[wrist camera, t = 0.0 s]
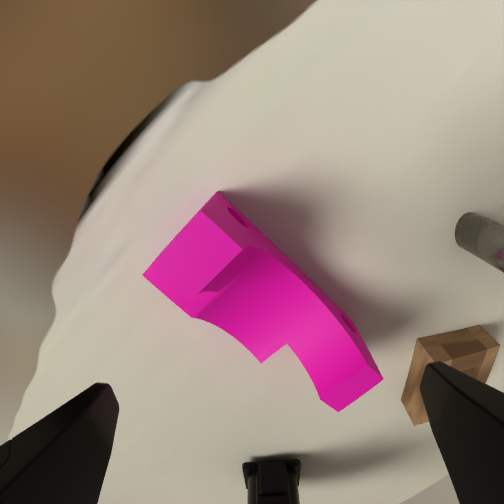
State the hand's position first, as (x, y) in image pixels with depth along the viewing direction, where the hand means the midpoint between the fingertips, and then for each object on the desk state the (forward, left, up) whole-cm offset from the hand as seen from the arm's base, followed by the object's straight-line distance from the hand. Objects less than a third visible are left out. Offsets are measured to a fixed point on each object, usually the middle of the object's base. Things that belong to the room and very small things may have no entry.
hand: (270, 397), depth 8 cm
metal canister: (0, -18, -16) cm, 24 cm away
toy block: (-4, 0, -16) cm, 16 cm away
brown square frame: (-14, -18, -15) cm, 28 cm away
